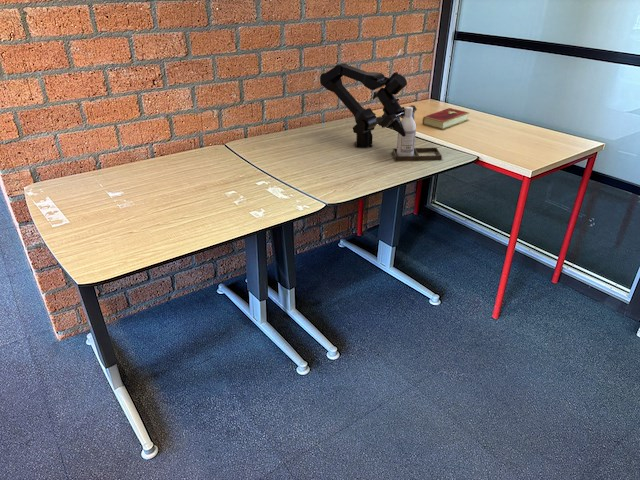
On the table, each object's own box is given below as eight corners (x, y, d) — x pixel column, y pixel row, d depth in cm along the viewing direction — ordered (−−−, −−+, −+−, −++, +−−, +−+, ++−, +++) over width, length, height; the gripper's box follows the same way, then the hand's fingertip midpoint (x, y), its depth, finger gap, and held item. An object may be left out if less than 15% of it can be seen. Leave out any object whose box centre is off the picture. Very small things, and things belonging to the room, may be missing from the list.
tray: (395, 161, 197) (396, 156, 196) (392, 152, 205) (392, 148, 204) (441, 159, 197) (441, 155, 196) (436, 151, 205) (436, 147, 205)
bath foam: (416, 156, 200) (421, 108, 190) (403, 159, 197) (407, 111, 187) (406, 151, 205) (411, 104, 195) (393, 154, 203) (396, 106, 192)
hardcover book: (422, 124, 237) (423, 115, 235) (448, 115, 249) (448, 107, 247) (442, 130, 229) (443, 121, 227) (468, 120, 241) (469, 111, 239)
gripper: (389, 107, 208) (409, 138, 208) (363, 118, 197) (383, 150, 196) (406, 92, 200) (427, 124, 199) (379, 102, 188) (401, 135, 187)
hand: (409, 133), depth 196 cm, fingers closed on bath foam, 7 cm apart
